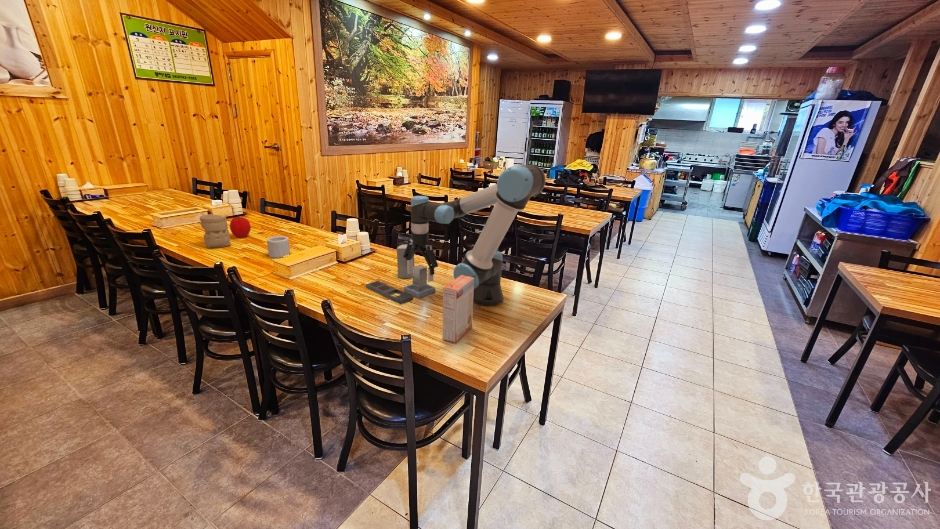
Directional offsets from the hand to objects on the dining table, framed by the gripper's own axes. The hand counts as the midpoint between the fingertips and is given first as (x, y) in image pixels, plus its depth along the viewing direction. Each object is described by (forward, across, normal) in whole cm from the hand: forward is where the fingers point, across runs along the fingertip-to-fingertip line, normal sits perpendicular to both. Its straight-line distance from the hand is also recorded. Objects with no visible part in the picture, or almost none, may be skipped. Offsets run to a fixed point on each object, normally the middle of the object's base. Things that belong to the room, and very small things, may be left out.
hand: (420, 277), depth 169 cm
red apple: (+6, +141, +24) cm, 144 cm away
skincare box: (+7, +20, -9) cm, 23 cm away
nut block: (+7, 0, 0) cm, 7 cm away
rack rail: (+7, +9, +11) cm, 16 cm away
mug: (+7, +92, +23) cm, 95 cm away
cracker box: (+8, -37, +15) cm, 40 cm away
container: (+6, +129, +41) cm, 136 cm away
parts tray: (+7, 0, 0) cm, 8 cm away
